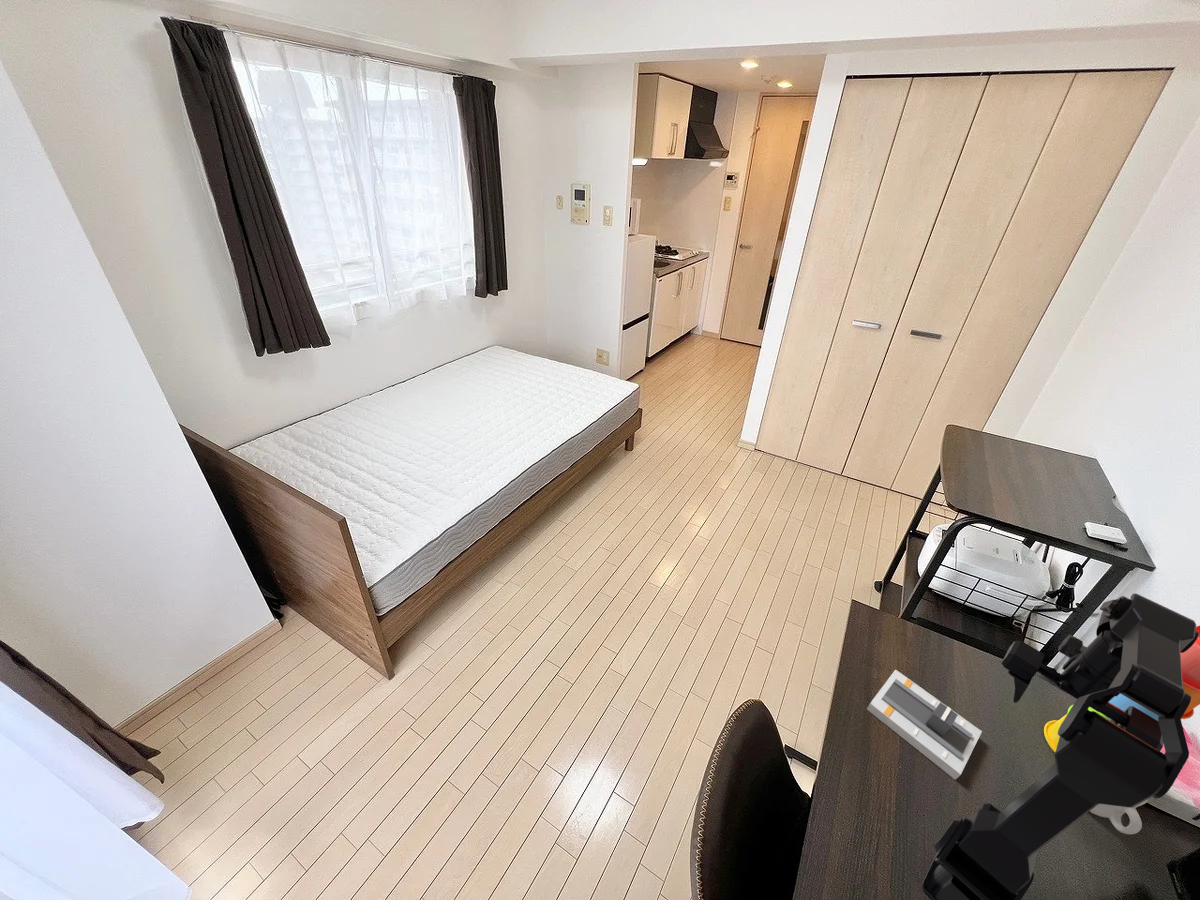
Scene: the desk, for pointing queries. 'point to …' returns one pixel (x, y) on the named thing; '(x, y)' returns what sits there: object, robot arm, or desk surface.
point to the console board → (923, 724)
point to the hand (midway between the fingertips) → (1047, 722)
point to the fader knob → (941, 719)
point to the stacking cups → (1196, 682)
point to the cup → (1116, 813)
